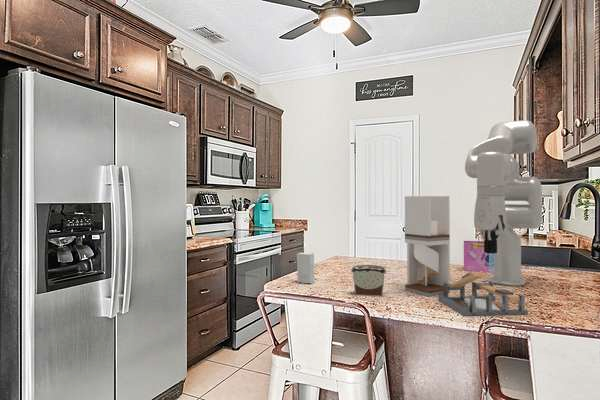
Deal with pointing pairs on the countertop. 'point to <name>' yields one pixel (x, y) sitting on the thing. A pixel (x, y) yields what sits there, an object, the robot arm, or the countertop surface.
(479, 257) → the gum box
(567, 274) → the countertop surface
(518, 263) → the robot arm
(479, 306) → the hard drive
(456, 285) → the strap
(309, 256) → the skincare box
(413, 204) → the white dispenser tower
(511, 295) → the strap
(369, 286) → the food container
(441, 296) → the grey dish rack
